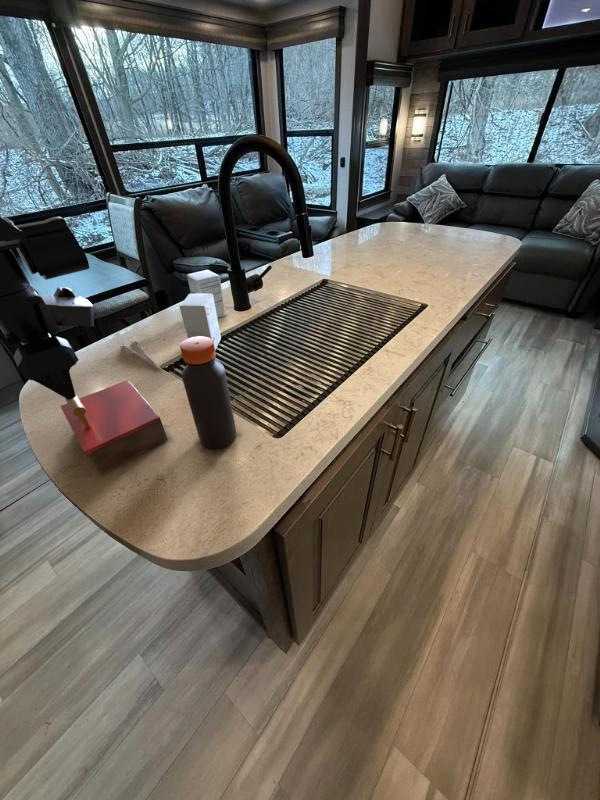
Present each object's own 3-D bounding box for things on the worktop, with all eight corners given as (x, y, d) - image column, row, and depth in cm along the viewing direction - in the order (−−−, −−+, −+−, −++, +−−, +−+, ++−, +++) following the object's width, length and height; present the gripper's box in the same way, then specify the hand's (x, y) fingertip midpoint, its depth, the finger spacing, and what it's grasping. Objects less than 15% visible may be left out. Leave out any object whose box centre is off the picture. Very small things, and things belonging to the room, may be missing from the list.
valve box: (103, 472, 56) (91, 453, 53) (77, 426, 65) (66, 407, 62) (168, 439, 62) (161, 420, 59) (136, 401, 71) (129, 382, 68)
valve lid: (86, 455, 53) (70, 431, 49) (62, 409, 62) (47, 385, 58) (160, 420, 59) (152, 396, 56) (129, 382, 68) (119, 360, 65)
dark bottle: (200, 454, 59) (171, 357, 46) (200, 429, 64) (174, 335, 52) (238, 447, 60) (220, 351, 48) (235, 423, 65) (218, 330, 53)
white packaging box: (194, 314, 106) (185, 274, 98) (215, 308, 109) (208, 268, 102) (205, 322, 101) (196, 280, 93) (226, 315, 105) (220, 274, 97)
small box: (199, 338, 93) (188, 293, 85) (221, 338, 93) (213, 293, 85) (190, 353, 87) (178, 305, 79) (214, 353, 86) (204, 305, 78)
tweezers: (119, 348, 89) (117, 342, 88) (136, 342, 92) (134, 336, 90) (152, 377, 80) (149, 370, 79) (169, 369, 83) (168, 363, 82)
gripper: (92, 290, 41) (136, 388, 51) (56, 259, 52) (99, 345, 62) (-17, 320, 36) (57, 423, 46) (-31, 278, 47) (31, 369, 57)
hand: (64, 385), depth 53 cm, fingers open, 9 cm apart
